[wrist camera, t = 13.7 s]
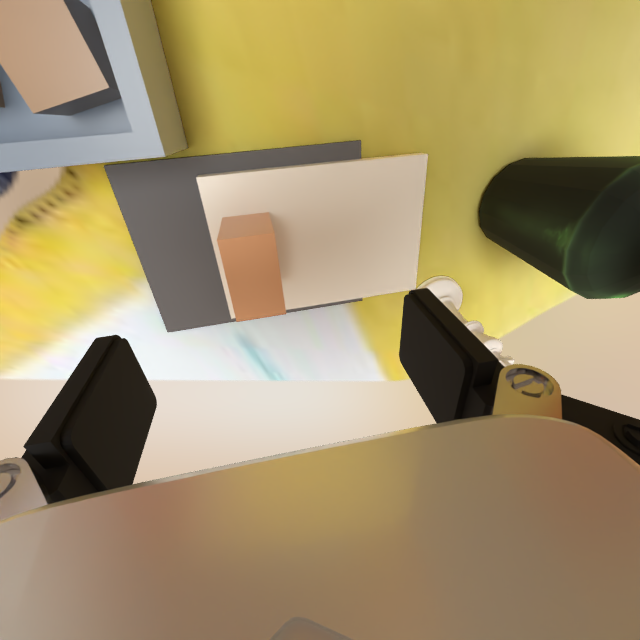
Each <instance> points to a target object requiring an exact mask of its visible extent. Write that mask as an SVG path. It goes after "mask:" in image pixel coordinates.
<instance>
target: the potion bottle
mask: <svg viewBox="0 0 640 640" xmlns="http://www.w3.org/2000/svg"><path fill="white" fill-rule="evenodd" d="M479 216H480V227H481V228H482V230H483V232H484V233H485V235H486V237H487V238H489V239H491V240H492V241H494V242H495V243H497V244H498V245H500V246H502V247H503V248H505V249H506V250H508V251H509V252H511V253H513V254H514V255H516V256H517V257H519V258H521V259H522V260H524V261H525V262H527V263H528V264H530V265H532V266H533V267H535V268H536V269H538V270H540V271H541V272H543V273H544V274H546V275H547V276H549V277H551V278H552V279H554V280H555V281H557V282H559V283H560V284H562V285H563V286H565V287H566V288H568V289H570V290H571V291H573V292H575V293H577V294H579V295H581V296H583V297H585V298H587V299H606V298H625V297H628V296H630V295H633V294H635V293H637V292H640V156H623V157H565V158H524V159H522V160H519V161H517V162H514V163H512V164H510V165H508V166H507V167H506V168H505V169H504V170H503V171H501V172H500V173H499V174H498V175H497V176H496V177H495V178H494V179H493V181H492V182H491V184H490V185H489V187H488V189H487V190H486V192H485V193H484V196H483V199H482V203H481V206H480V210H479Z"/></svg>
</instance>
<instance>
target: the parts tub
mask: <svg viewBox="0 0 640 640" xmlns="http://www.w3.org/2000/svg"><path fill="white" fill-rule="evenodd" d="M187 148H188V144H187V140H186V137H185V133H184V129H183V125H182V121H181V117H180V113H179V109H178V105H177V101H176V97H175V93H174V89H173V85H172V81H171V77H170V74H169V70H168V66H167V62H166V58H165V54H164V50H163V46H162V42H161V38H160V34H159V30H158V26H157V22H156V18H155V15H154V11H153V7H152V3H151V0H0V173H1V172H12V171H22V170H32V169H42V168H53V167H63V166H73V165H84V164H94V163H104V162H115V161H125V160H135V159H146V158H156V157H166V156H168V155H171V154H174V153H176V152H179V151H181V150H184V149H187Z"/></svg>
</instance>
